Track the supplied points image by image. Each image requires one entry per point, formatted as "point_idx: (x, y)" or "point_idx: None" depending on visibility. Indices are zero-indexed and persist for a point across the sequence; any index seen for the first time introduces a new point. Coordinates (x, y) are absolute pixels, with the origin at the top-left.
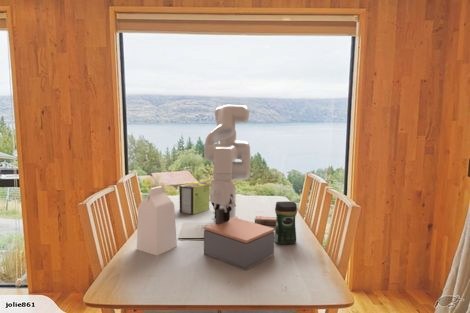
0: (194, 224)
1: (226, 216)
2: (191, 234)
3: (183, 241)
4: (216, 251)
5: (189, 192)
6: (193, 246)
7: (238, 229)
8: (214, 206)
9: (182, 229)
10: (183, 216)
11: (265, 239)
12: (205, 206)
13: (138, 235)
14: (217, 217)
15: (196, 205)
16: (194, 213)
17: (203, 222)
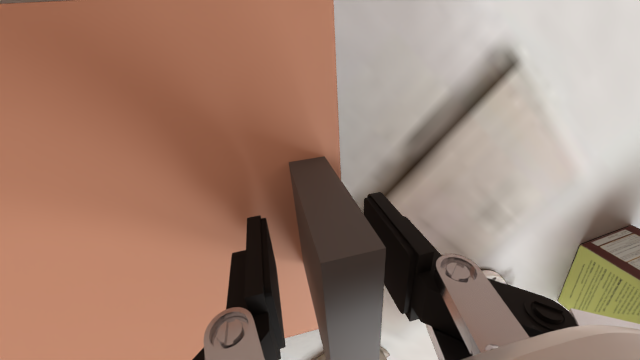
0: (535, 203)
1: (237, 272)
2: (492, 135)
3: (476, 51)
4: None
5: None
6: (400, 48)
7: (40, 230)
8: (475, 290)
9: (551, 139)
10: (603, 213)
11: None
12: (576, 299)
13: None
14: (315, 192)
15: (609, 278)
16: (581, 251)
17: (518, 236)
